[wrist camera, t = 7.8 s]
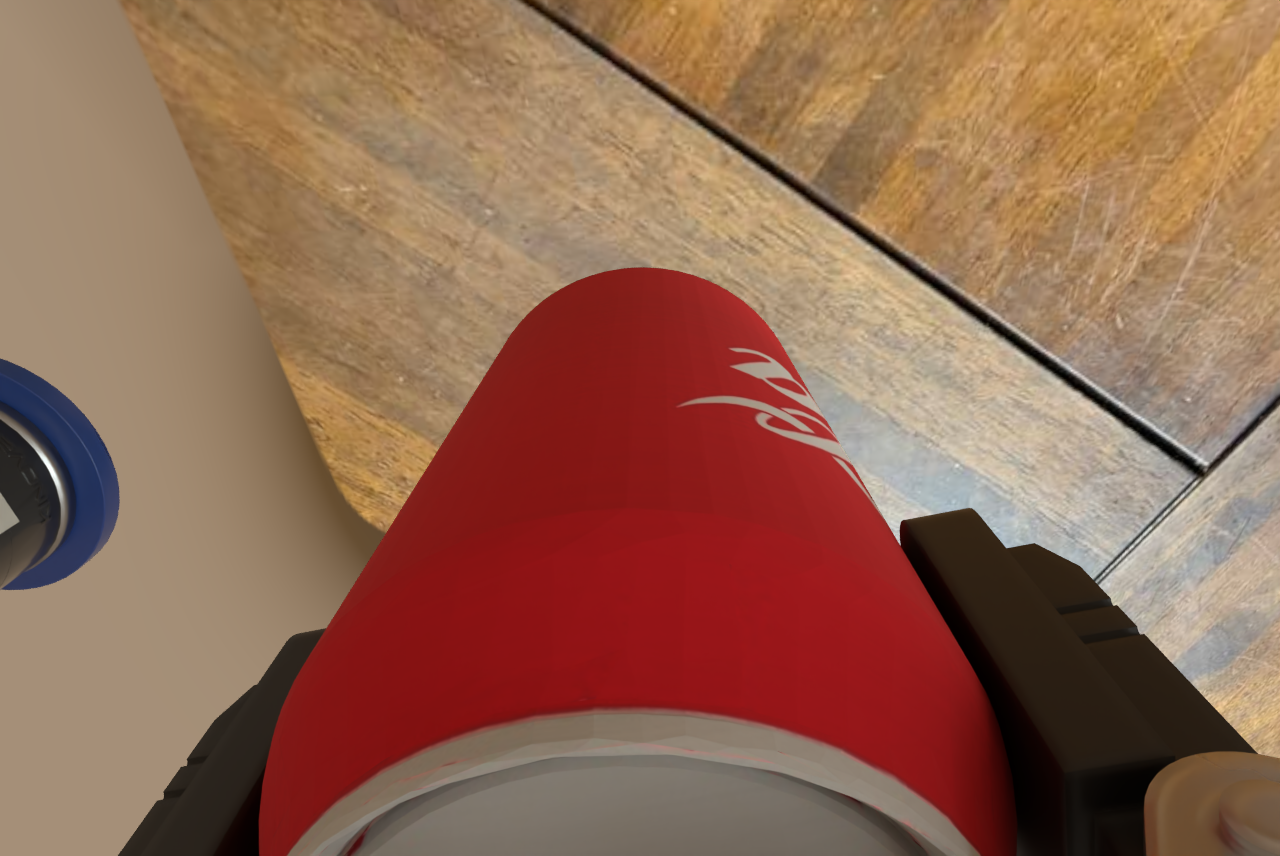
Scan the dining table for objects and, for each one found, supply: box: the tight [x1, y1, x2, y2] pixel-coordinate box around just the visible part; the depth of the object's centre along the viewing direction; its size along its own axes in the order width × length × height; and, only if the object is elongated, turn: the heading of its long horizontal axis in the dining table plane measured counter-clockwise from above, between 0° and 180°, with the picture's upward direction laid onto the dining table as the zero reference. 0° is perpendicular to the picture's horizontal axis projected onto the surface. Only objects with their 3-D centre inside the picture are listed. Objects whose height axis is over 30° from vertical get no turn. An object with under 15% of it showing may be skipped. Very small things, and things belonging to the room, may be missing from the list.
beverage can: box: [259, 267, 1017, 856], centre depth 11 cm, size 6×6×12 cm
